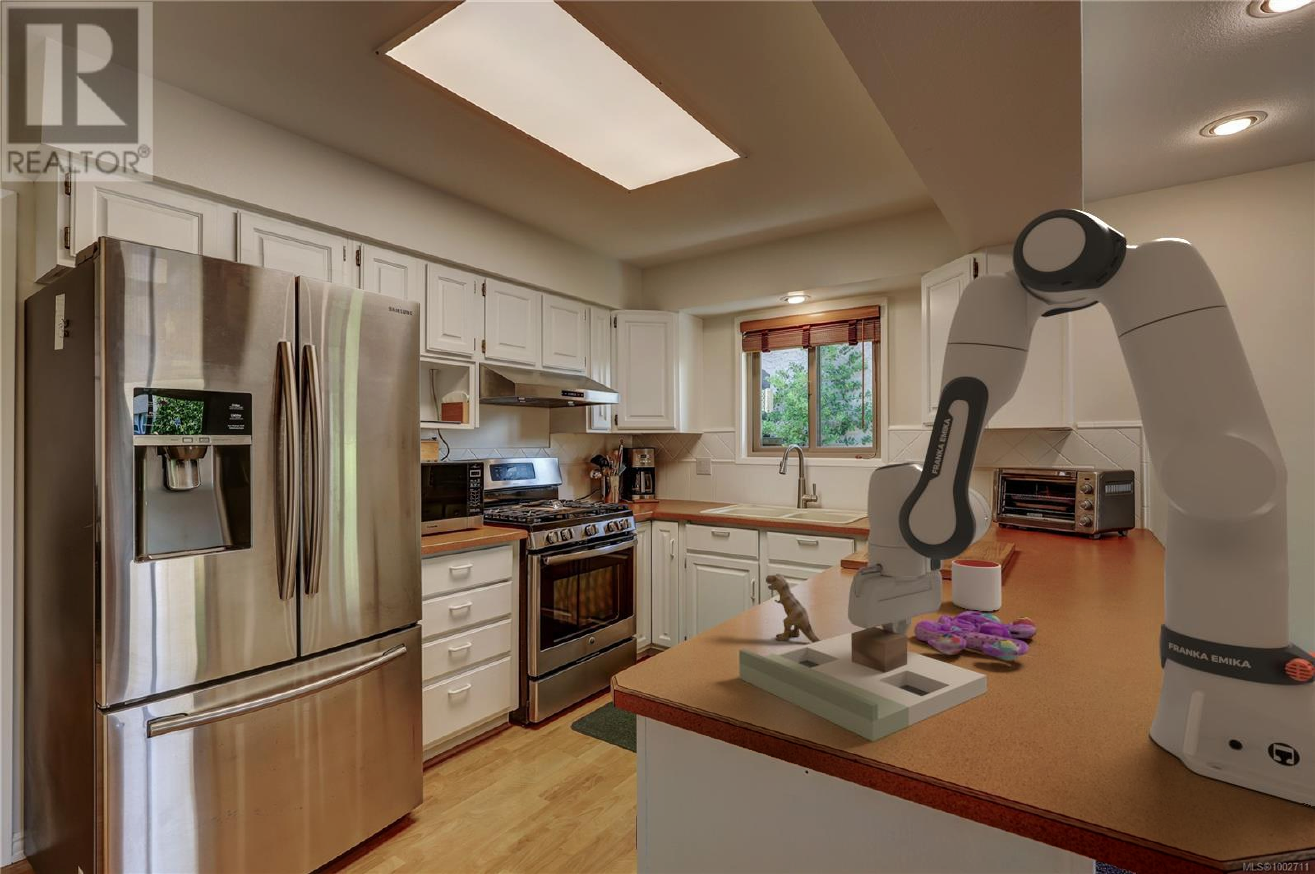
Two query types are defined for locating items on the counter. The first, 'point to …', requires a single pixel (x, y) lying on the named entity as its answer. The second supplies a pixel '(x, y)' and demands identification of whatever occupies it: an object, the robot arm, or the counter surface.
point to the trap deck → (860, 686)
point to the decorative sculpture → (977, 634)
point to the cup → (976, 584)
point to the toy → (791, 610)
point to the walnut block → (879, 649)
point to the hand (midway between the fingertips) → (896, 645)
